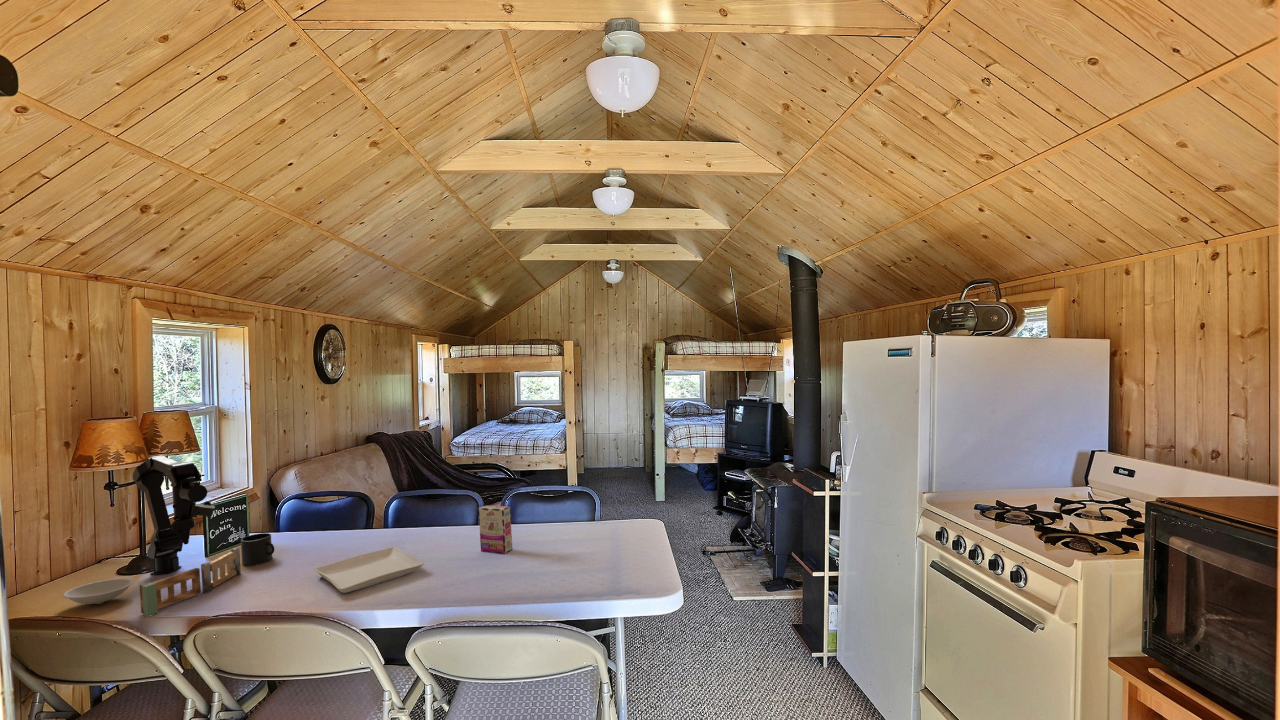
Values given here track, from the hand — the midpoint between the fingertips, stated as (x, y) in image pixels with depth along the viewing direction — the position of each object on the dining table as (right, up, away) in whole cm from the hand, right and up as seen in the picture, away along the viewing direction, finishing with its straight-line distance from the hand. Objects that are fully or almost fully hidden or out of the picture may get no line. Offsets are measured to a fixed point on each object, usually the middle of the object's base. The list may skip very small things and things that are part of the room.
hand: (186, 544), depth 201 cm
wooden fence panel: (+16, -11, -5) cm, 21 cm away
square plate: (+66, -10, -4) cm, 66 cm away
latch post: (+11, -12, -28) cm, 33 cm away
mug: (+16, -11, +15) cm, 25 cm away
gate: (+12, -11, -21) cm, 27 cm away
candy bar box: (+104, -7, +15) cm, 105 cm away
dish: (-13, -13, -18) cm, 26 cm away
